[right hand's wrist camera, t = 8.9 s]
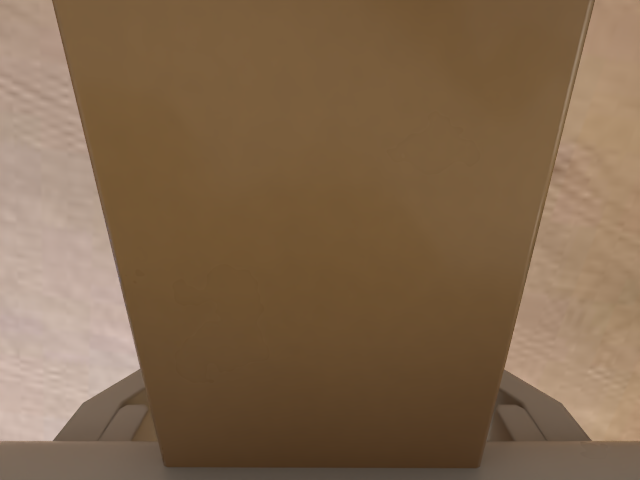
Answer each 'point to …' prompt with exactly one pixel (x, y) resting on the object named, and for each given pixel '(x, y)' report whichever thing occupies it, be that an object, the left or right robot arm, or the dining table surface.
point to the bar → (322, 213)
